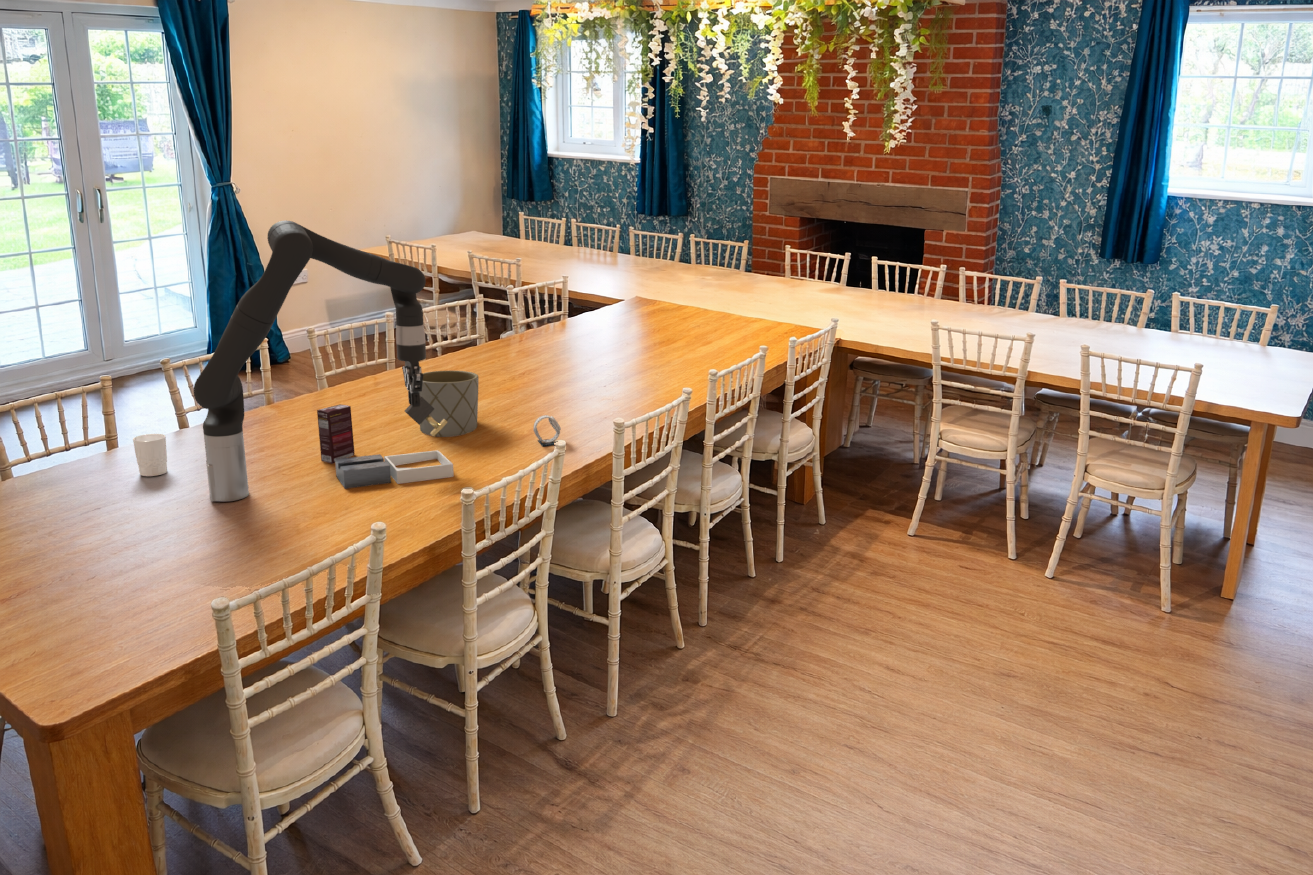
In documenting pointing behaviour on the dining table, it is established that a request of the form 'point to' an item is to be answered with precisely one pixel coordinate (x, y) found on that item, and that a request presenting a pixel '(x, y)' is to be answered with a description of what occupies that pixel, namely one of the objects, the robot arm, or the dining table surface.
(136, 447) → the white cup
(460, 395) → the planter
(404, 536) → the dining table surface
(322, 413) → the supplement box
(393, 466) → the key tray
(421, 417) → the t key
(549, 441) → the watch
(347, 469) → the plate
